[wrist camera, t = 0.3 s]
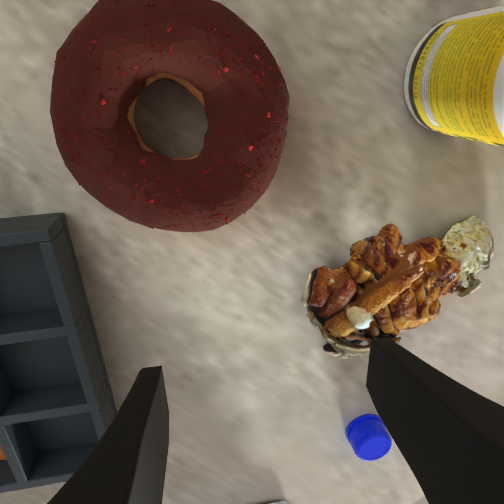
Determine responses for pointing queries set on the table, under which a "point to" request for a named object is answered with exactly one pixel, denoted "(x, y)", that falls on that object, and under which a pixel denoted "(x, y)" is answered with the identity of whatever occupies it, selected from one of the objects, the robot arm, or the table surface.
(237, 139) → the donut
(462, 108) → the supplement bottle
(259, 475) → the table surface
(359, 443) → the bottle cap
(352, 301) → the brown lumpy food piece
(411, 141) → the table surface
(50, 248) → the grid
